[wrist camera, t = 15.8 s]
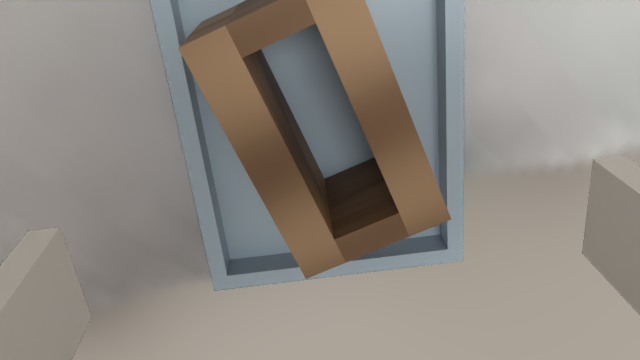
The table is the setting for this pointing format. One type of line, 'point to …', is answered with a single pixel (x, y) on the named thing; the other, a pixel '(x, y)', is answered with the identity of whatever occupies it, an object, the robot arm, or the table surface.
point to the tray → (321, 135)
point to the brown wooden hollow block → (290, 145)
